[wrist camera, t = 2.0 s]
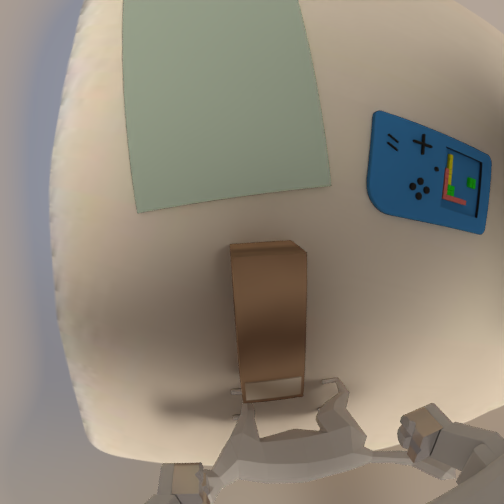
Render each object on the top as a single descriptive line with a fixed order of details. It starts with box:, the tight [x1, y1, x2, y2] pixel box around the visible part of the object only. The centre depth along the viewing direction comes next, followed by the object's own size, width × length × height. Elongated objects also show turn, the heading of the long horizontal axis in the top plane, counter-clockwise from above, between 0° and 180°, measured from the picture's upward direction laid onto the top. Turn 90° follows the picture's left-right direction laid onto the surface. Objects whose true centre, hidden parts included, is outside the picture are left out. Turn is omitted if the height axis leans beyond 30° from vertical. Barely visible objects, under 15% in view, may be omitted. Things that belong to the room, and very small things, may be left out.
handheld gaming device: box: [367, 111, 492, 234], centre depth 22 cm, size 8×1×15 cm
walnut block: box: [230, 240, 307, 403], centre depth 21 cm, size 11×4×5 cm, turn 3°
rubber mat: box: [123, 0, 331, 213], centre depth 19 cm, size 14×20×1 cm
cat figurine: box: [203, 378, 456, 504], centre depth 19 cm, size 4×20×14 cm, turn 91°
